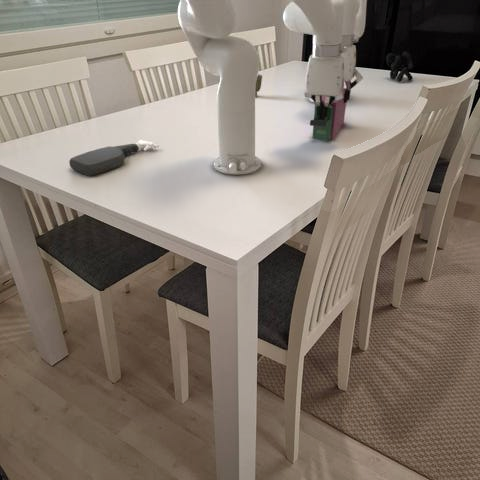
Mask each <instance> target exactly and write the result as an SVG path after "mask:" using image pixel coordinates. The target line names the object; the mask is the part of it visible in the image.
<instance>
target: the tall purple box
mask: <svg viewBox="0 0 480 480" xmlns="http://www.w3.org/2000/svg"><path fill="white" fill-rule="evenodd" d="M345 90H346V87H344V89H343V91H342V92H343V98H342V99H341V100H335V101H333V102H332V103H331V104H330V105H334V107H333V117H332V128H331V134H330V139H329V140H328V141H333V140H334V139H335V138H336V136H337V134H338V133H339V131H340V130H341V128H342V127H343V125H344V123H345V115H346V108H347V103H344V96H345ZM325 98H326V95H322V102H323V104H324V103H325ZM315 106H316V103H314V107H315ZM314 112H315V110H314ZM312 139H314V138H313V136H312Z"/></svg>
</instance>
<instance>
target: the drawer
mask: <svg viewBox="0 0 480 480" xmlns="http://www.w3.org/2000/svg"><path fill="white" fill-rule="evenodd" d="M333 107H334V105H330V104H329V110H328V117H326V118H325V120H324V121H323V120H318V116H317V105H316V106H315V105H314V111H315V112H314V113H313V119H310V121H309V126H313V127H312V137H313V138H312V139H318V140H325V141H330V140H329V139H330V134H331V128H332V117H333Z"/></svg>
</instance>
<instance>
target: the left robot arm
mask: <svg viewBox="0 0 480 480" xmlns="http://www.w3.org/2000/svg"><path fill="white" fill-rule="evenodd" d="M177 16H178V22H179V25H180V28H181V30H182V32H183V34H184V36H185V38H186V40H187V42H188V44H189V46H190V48H191V49H192V52H193V54H194V55H195V57H196V59H197V61H198V63H199V64H200V66H201V67H202V68H203V70H205V71H206V72H208V73H209V74H212V75H214V76H216V77H220V78H219V83H218V84H219V85H218V87H217V93H216V110H217V111H216V112H217V133H218V135H217V136H218V137H217V138H218V157H216V158H215V159H214V160H213V167H214V169H215V170H216V171H217V172H219V173H222V174H226V175H233V176H234V175H238V176H239V175H247V174H252V173H254V172H256V171H258V170H259V169H260V168H261V166H262V161H261V159H260V158H259V157H258V156H256V96H255V90H256V80H257V76H258V74H259V69H260V55H259V53H258V50H257V48H256V46H255V45H254V44H252V43H251V42H250V41H248V40H247V39H244V38H242V37H237V36H234V35H233V36H232V35H231V34H232V33H233V32H234V30H235V28H236V24H237V15H236V10H235V8H234V5H233V3H232V0H179V3H178V6H177ZM343 19H344V1H343V0H291V1H290V2H289V3H288V4H287V5H286V7H285V8H284V11H283V14H282V21H283V23H284V25H285V27H286V28H287V30H290V31H291V32H294V33H298V34H304V35H311V36H312V50H311V51H312V52H311V54H310V55H309V58H308V63H307V68H306V73H305V74H306V75H305V83H304V85H305V86H304V87H305V88H304V90H305V92H304V97H305V98H307V99H309V98H310V99H312V100H313V101H314V102H315V103H316V105H317V116H318V120H323V121H324V120H325V118H326V117H328V110H329V104H331V103H332V102H333V101H335V100H341V99H342V98H343V92H342V91H343V89H344V88H345V81H344V56H342V55H341V53H343V52H346V51H347V47H344V46H343V45H342V32H343ZM322 95H326V98H325V103H324V104H323V102H322ZM314 102H313V103H314ZM315 103H314V104H315Z"/></svg>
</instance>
